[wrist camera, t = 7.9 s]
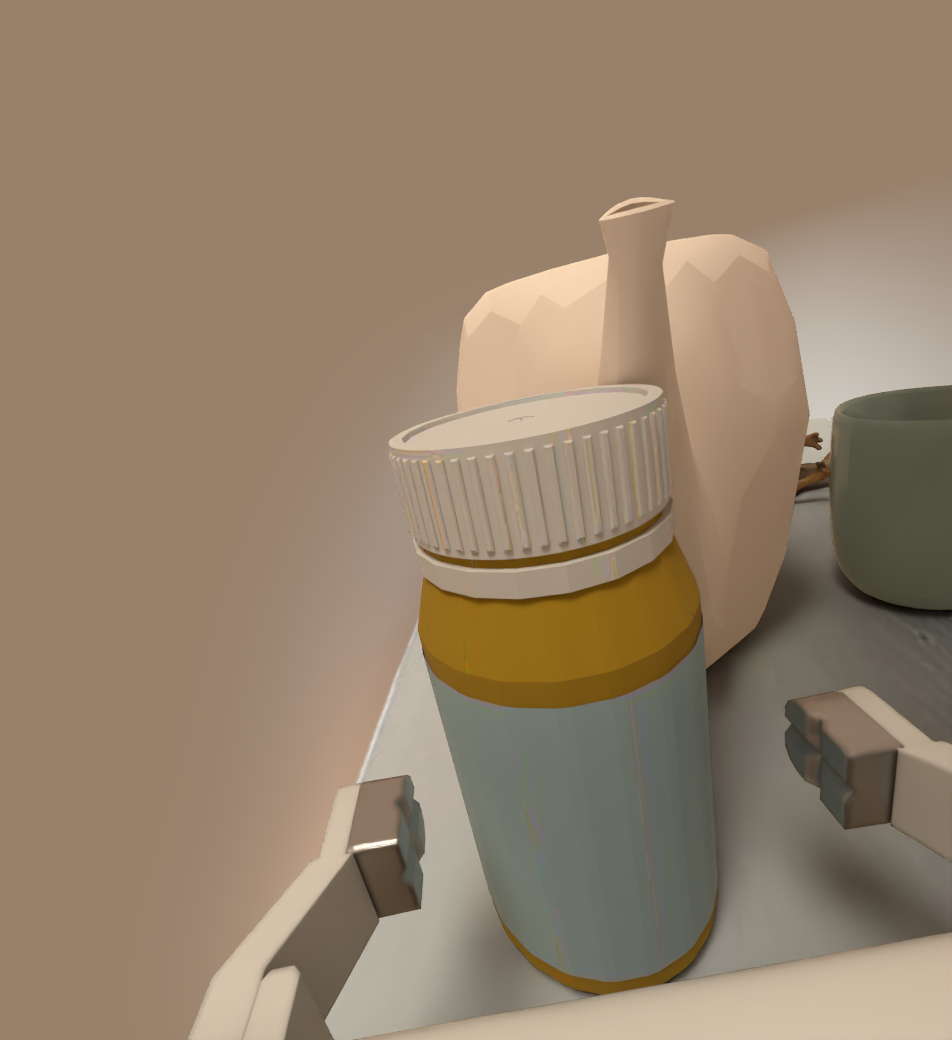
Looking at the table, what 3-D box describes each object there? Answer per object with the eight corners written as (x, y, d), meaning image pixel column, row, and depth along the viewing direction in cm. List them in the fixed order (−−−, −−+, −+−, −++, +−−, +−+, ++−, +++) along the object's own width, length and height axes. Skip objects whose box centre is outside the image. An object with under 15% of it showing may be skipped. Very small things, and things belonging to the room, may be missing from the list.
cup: (1032, 648, 21) (1079, 415, 18) (814, 611, 26) (819, 426, 23) (1016, 568, 26) (1050, 376, 23) (836, 550, 32) (843, 392, 28)
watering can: (454, 867, 17) (276, 278, 11) (522, 549, 42) (479, 311, 35) (996, 890, 14) (1179, 33, 7) (722, 527, 38) (712, 257, 32)
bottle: (621, 755, 20) (571, 382, 15) (776, 923, 14) (774, 377, 9) (463, 836, 18) (348, 437, 13) (560, 1074, 12) (409, 481, 7)
